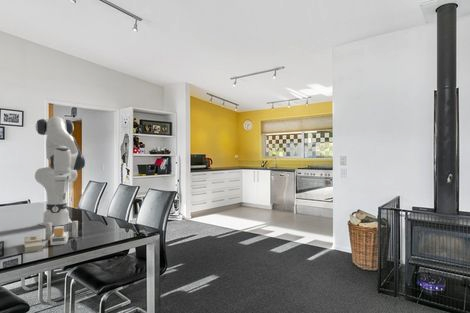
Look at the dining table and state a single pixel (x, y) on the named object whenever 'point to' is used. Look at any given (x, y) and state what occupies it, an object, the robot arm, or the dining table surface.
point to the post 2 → (74, 229)
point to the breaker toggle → (58, 231)
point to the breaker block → (59, 239)
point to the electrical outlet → (33, 244)
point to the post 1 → (48, 231)
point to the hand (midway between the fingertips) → (62, 200)
